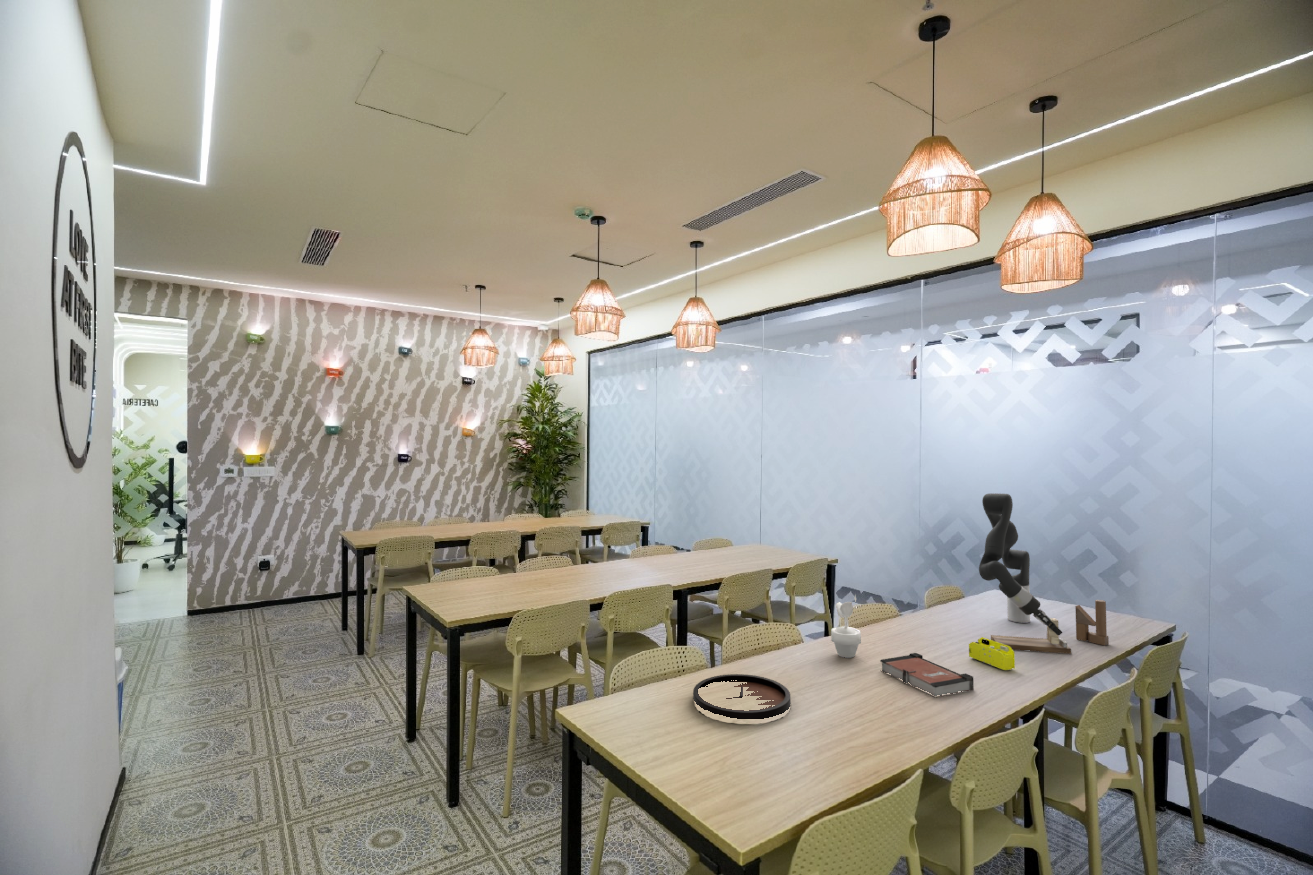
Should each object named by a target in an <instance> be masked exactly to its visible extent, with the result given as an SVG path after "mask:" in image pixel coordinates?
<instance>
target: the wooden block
mask: <svg viewBox="0 0 1313 875" xmlns="http://www.w3.org/2000/svg"><path fill="white" fill-rule="evenodd" d="M1094 603H1095V604H1094V605H1095V606H1094V607H1095V611H1094V612H1095V619H1094V618H1092V617H1091V615H1090V614H1089V613H1087V611H1086V610H1085V609H1084V608H1083V607H1082V606H1081V605H1080V604H1079V605H1075V606H1074V607H1075V608H1074V609H1075V630H1076V631H1075V639H1076V640H1078V641H1083V642H1086V641H1088V642H1089V643H1091V644H1096V645H1100V646H1107V645H1109V642H1110V641H1109V640H1110V639H1109V635H1108V634H1107V631H1108V630H1107V602H1106V601H1105V600H1103V599H1096V600H1095V601H1094ZM1089 626H1091V627H1095V632H1093V631H1089V630H1090V628H1089Z"/></svg>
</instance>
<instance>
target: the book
mask: <svg viewBox="0 0 1313 875" xmlns="http://www.w3.org/2000/svg"><path fill="white" fill-rule="evenodd" d="M880 663H881V670H882V671H883V672H882V671H881V672H882V673H884V672H885V673H884V674H886V673H889V674H891V676H890V677H892V676H893V678H894V677H895V678H894V679H896V678H900V679H902V680H903V682H902V683H904V682H905V683H908V682H909V683H910V684H911V685H912V686H911V685H910V686H911V687H913V686H914V687H913V688H915V687H918V688H920V689H922V690H924V691H927V692H929V693H931V694H932V695H934V696H937V695H940V696H941V697H943V696H942V694H947V693H950V694H951V695H954V694H953V693H956V694H959V693H958V691H961V692H962V691H967V692H972V691H974V689H975V688H974V685H975V683H974V676H972V675H970V674H968V673H958V672H956V671H954V670H951V669H950V668H946V667H944V666H941V665H939V664H937V663H934V662H933V661H930V660H927V659H925V658H923V655H922V654H920V653H917V652H912V653H909V654H908V655H902V656H896V657H895V656H894V657H889V658H882V659H880ZM905 683H904V684H905ZM962 693H963V692H962Z"/></svg>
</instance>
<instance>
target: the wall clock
mask: <svg viewBox="0 0 1313 875" xmlns="http://www.w3.org/2000/svg"><path fill="white" fill-rule="evenodd" d="M731 680H732V681H731ZM733 680H734V681H733ZM735 680H737V681H735ZM721 681H722V682H723V681H725V682H727V681H729V682H747V684H746V683H745V684H743V683H742V685H741V684H740V685H738V686H734V687H741V692H740V696H739V697H733V698H742V697H743V687H749V688H748V689H747V690H746V691H754V692H755V693H754V692H753V693H751V695H750V694H748V695H747V696H749V695H750V696H762V697H759V698H760V699H759V698H757V699H756V700H771V701H769V702H768V701H767V702H765V703H763V704H762V703H761V704H758V705H771V706H769V707H768V708H767V707H766V708H765V709H764V708H763V709H760V710H749V711H744V710H732V709H726V708H721V707H718V706H714V705H712V704H710V703H708V702H706V701H704V700H703V699H702V698H701V697H700V696H699V694H698V689H699V688H701V687H705V686H706V685H708V684H710V683H713V682H721ZM706 687H708V686H706ZM757 691H758V692H757ZM692 694H693V695H692V699H694V701H695V702H696V704H697V705H699V706H700V707H701V708H703V709H704V710H708V711H710V712H712V713H714V714H719V715H723V716H726V717H730V718H737V719H764V718H769V717H773V716H776V715H779V714H782V713H784V712H785V711H786V710H788V709H789V707H790V704H791V700H792V698H791V693H790V691H789V689H788V688H787V686H785V685H783V684H782V683H781V682H778V681H777V680H773V679H770V678H768V677H764V676H760V675H755V674H754V675H753V674H752V675H751V674H743V673H742V674H741V673H732V674H731V673H730V674H721V675H716V676H715V675H714V676H711V677H708V678H705V679H703V680H701V681H700V682H698V683H697V684H695V686H694V687H693V692H692ZM745 696H746V695H745ZM726 699H732V698H726ZM772 700H774V701H772ZM772 705H775V706H773V707H772Z"/></svg>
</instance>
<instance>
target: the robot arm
mask: <svg viewBox="0 0 1313 875" xmlns="http://www.w3.org/2000/svg"><path fill="white" fill-rule="evenodd" d="M1013 504H1014V503H1013V498H1012V496H1011V495H1010V494H1009V493H994V492H993V493H986V494H984V495H983V497H982V507H983V511H984V513H985V515H986V516H987V518H988V520H989V523H990V525H991V530H990V531H989V532H988V534H987V535H986V538H985V543H984V544H985V545H984V552H983V555H982V557H981V559H980V563H979V566H978V572H979V576H980V577H981V579H983V580H985V581H994V580H997V581H998V582H999V584H998V589H999V590H1000V591H1001V592H1002V593H1003V594H1004V595H1005V596H1006V601H1007V602H1006V603H1007V604H1006V605H1007V620H1008V621H1011V622H1012V623H1013V622H1014V623H1020V624H1021V623H1022V624H1023V623H1025V624H1027V623H1031V615H1032V616H1033V617H1034V618H1035V619H1036V620H1038V621H1039V622H1041V623H1042V624H1043V626H1046V627H1047V626H1048V627H1049V628H1050V629H1052V630H1053V631H1054V632H1055V633H1056V634H1057V635H1059V636H1060V635H1062V634H1063V631H1062V630H1061V629H1060V628H1058V627H1059V626H1058V627H1057V626H1055V623H1053V622H1052V621H1051V619H1050V618H1051V617H1049V616H1048V615H1047V613H1046V612H1045V611H1043V609H1041V608H1040V607H1041V601H1039V600H1038V599H1037V598H1036V597H1035V596H1034V595H1032V594H1031V592H1030V564H1031V563H1030V562H1031V560H1030V553H1029V552H1028V551H1027V550H1022V549H1021V550H1020V549H1012V547H1014V546H1015V544H1016V543H1017V542H1018V540H1019V533H1018V530H1017V527H1016V525H1015V524H1014V523H1013V521H1011V517H1012V512H1013V508H1014V507H1013ZM1000 560H1002V562H1000ZM1010 569H1011V570H1016V571H1017V570H1019V571H1020V573H1018V574H1013V575H1012V574H1011V573H1010V571H1009V570H1010ZM1050 623H1052V624H1051V625H1050V626H1049V624H1050Z"/></svg>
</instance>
